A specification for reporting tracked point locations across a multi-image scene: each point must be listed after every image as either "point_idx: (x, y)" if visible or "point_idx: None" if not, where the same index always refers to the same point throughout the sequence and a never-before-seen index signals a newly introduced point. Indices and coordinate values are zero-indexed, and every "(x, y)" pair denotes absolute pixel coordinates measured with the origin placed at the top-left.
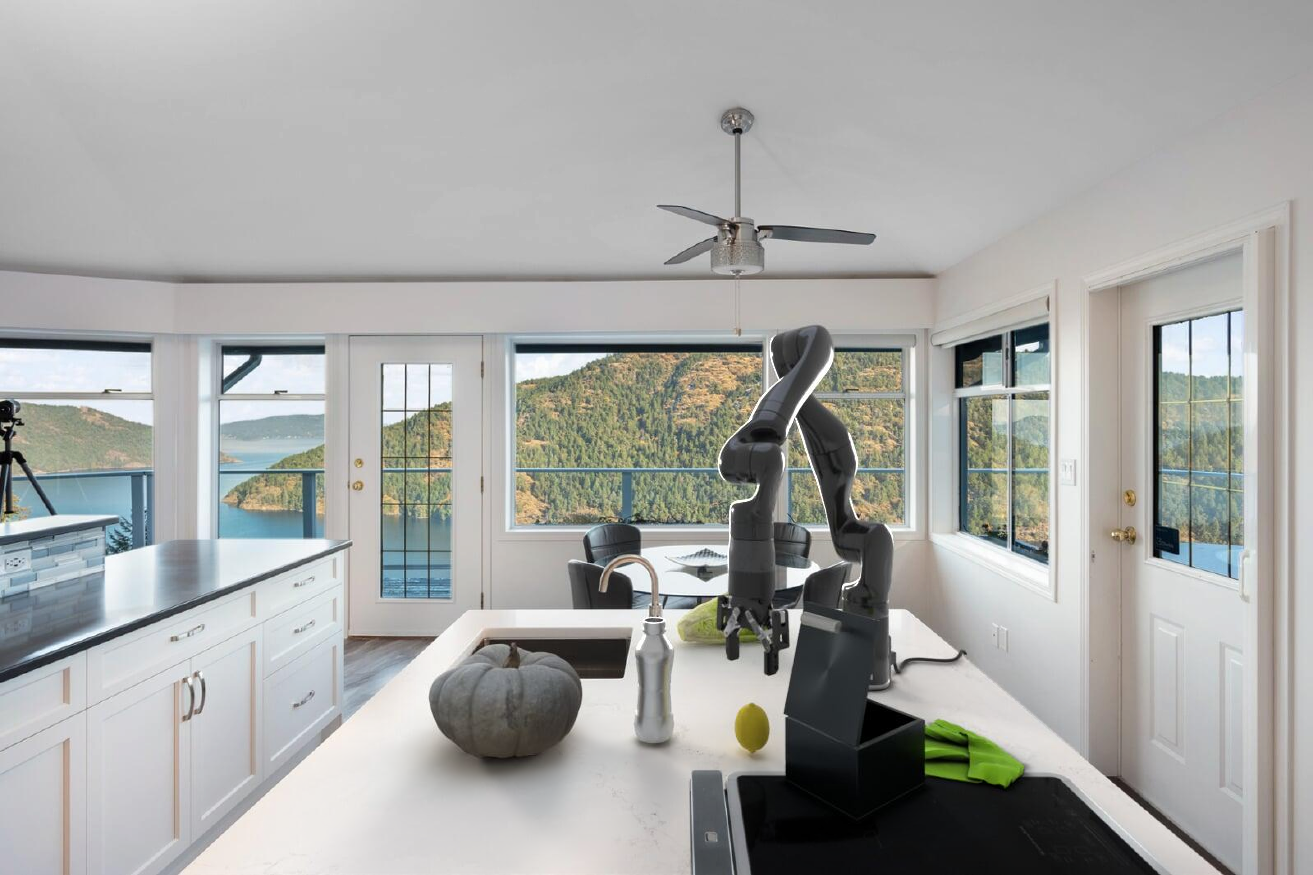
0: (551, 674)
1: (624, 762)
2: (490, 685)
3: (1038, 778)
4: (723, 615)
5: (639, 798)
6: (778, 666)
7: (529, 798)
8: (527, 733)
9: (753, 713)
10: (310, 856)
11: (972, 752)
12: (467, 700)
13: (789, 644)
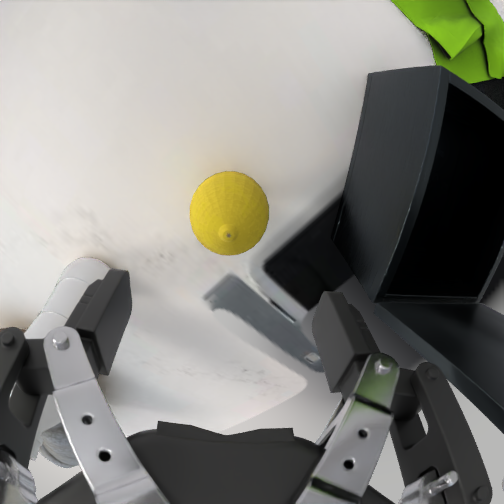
0: (68, 444)
1: (133, 336)
2: None
3: None
4: (27, 434)
5: (212, 365)
6: (361, 317)
7: (152, 404)
8: None
9: (248, 245)
10: None
11: (485, 26)
12: None
13: (443, 376)
